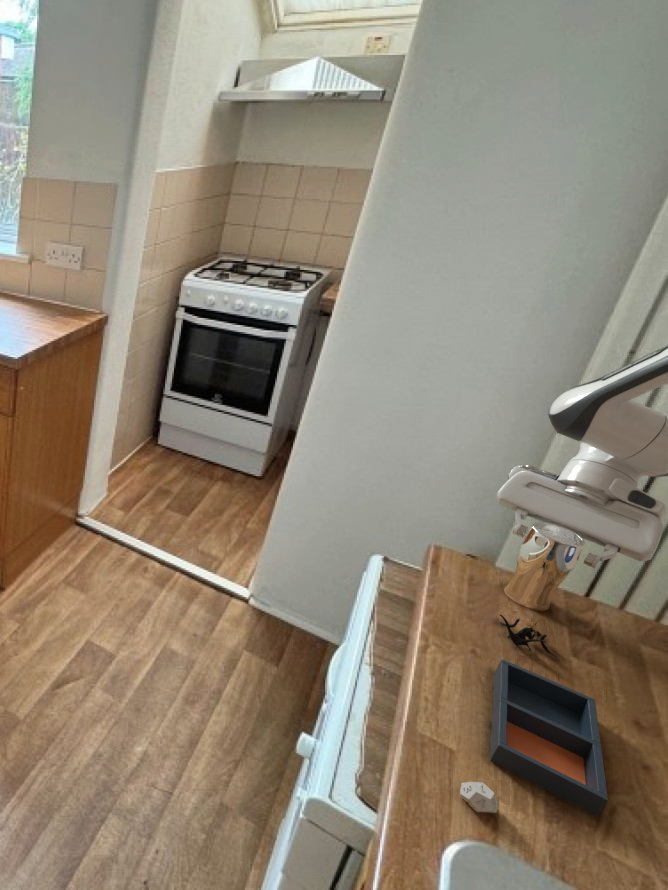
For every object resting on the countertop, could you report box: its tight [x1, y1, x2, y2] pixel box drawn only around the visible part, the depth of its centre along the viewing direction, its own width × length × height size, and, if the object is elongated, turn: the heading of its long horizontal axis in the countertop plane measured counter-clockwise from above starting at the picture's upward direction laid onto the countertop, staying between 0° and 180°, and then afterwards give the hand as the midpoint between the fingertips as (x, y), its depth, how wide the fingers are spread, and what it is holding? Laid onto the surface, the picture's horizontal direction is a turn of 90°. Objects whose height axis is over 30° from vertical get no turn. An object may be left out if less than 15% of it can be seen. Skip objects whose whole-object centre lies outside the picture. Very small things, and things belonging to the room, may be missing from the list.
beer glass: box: [503, 521, 586, 611], centre depth 107 cm, size 7×7×15 cm
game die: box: [459, 781, 499, 814], centre depth 76 cm, size 4×4×3 cm
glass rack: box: [489, 658, 609, 817], centre depth 84 cm, size 19×10×4 cm, turn 136°
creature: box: [499, 614, 558, 659], centre depth 100 cm, size 8×5×8 cm
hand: (552, 549), depth 107 cm, fingers open, 8 cm apart
